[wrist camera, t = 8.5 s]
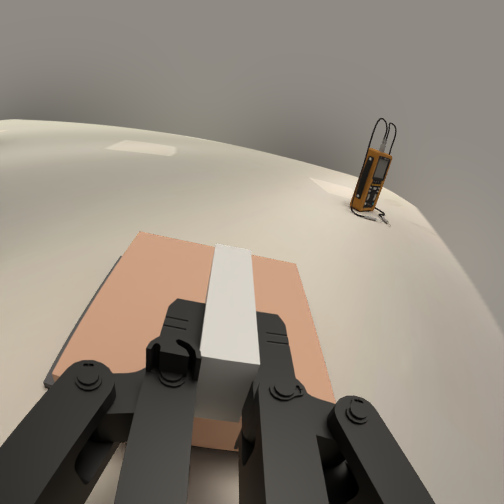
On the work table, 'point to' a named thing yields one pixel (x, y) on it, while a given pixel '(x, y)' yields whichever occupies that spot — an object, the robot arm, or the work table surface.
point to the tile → (193, 289)
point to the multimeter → (372, 178)
